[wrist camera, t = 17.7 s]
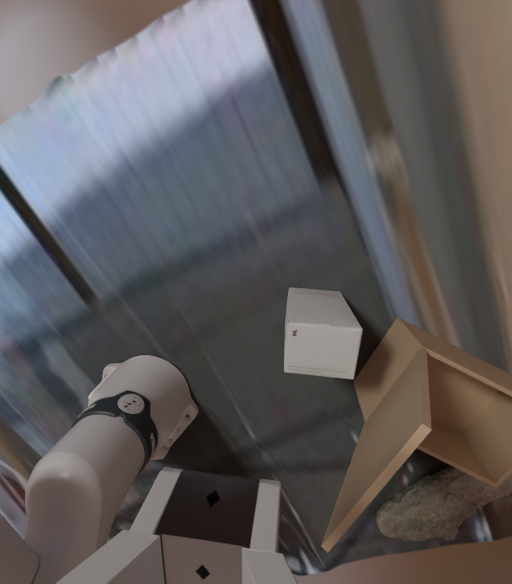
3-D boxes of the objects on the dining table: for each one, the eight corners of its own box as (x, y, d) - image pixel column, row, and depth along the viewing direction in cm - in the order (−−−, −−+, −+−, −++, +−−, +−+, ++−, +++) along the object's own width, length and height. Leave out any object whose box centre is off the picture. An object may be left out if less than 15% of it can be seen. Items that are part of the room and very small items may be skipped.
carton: (460, 435, 52) (496, 488, 42) (353, 381, 52) (365, 422, 42) (513, 375, 48) (566, 418, 38) (397, 317, 48) (422, 346, 38)
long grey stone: (573, 445, 51) (538, 401, 51) (604, 469, 46) (565, 421, 46) (394, 539, 59) (361, 502, 59) (404, 569, 54) (368, 529, 54)
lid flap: (327, 552, 23) (321, 546, 24) (368, 426, 42) (364, 423, 42) (431, 429, 19) (422, 423, 20) (426, 349, 38) (421, 346, 38)
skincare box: (285, 323, 50) (279, 374, 36) (288, 283, 48) (284, 320, 34) (337, 328, 49) (354, 383, 35) (343, 289, 48) (364, 328, 33)
